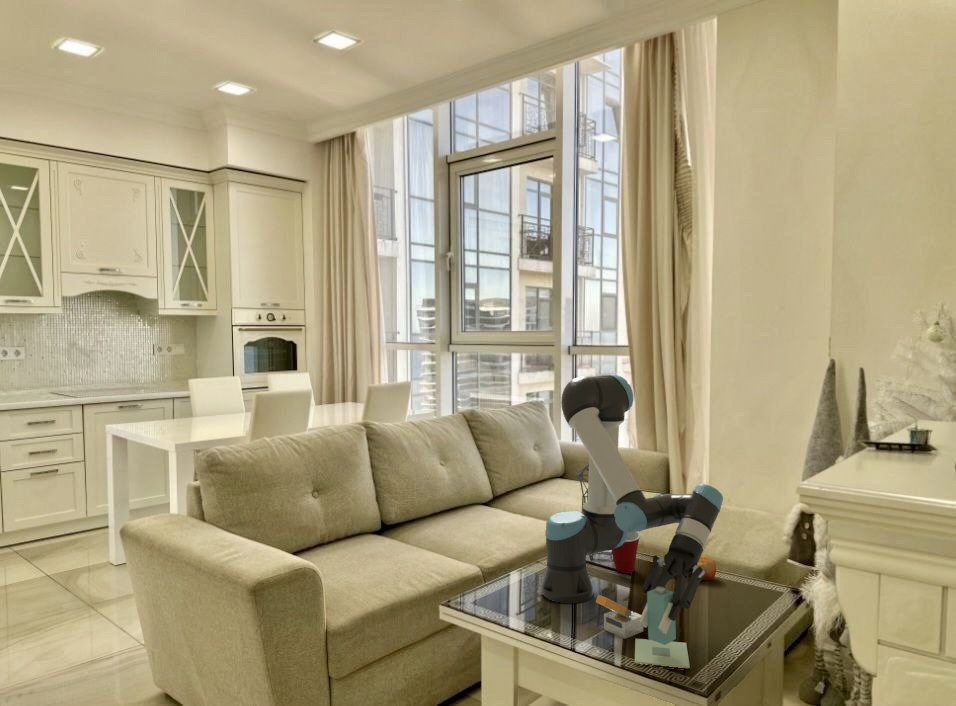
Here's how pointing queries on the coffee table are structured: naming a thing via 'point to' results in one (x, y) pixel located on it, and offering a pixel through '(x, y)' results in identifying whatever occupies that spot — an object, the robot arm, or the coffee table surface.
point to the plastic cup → (626, 553)
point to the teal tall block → (659, 615)
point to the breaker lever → (613, 606)
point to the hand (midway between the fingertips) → (652, 627)
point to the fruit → (707, 567)
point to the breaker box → (622, 624)
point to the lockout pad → (661, 653)
